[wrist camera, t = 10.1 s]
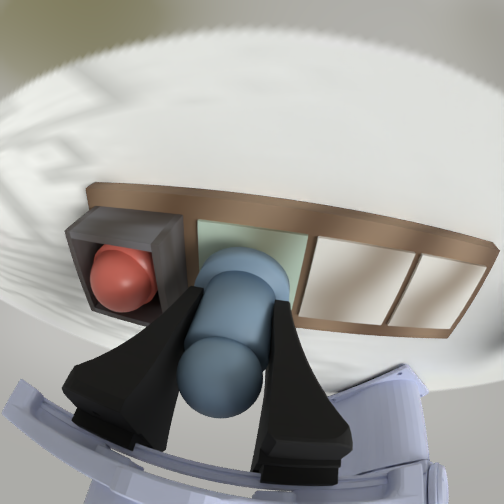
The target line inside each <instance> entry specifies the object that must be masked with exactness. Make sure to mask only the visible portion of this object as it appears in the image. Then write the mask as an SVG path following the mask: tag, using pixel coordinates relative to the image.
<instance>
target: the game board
mask: <svg viewBox="0 0 504 504" xmlns="http://www.w3.org/2000/svg"><path fill="white" fill-rule="evenodd" d="M86 194H87V200H88V205H89V211H88V212H87V213H86V214H84V215H83V216H82V217H81V218H79V219H78V220H77V221H76V222H74V223H73V224H72V225H71V226H69V227H68V228H67V229H66V230H65V234H66V238H67V242H68V245H69V248H70V252H71V255H72V258H73V261H74V264H75V267H76V270H77V273H78V276H79V279H80V282H81V284H82V287H83V290H84V292H85V295H86V298H87V300H88V303H89V305H90V307H91V310H92V311H95V312H98V313H101V314H104V315H107V316H110V317H114V318H117V319H121V320H124V321H127V322H131V323H135V324H138V325H142V326H146V327H147V326H148V325H150V324H151V323H152V322H153V321H154V320H156V319H157V318H158V317H159V316H160V315H161V314H162V313H163V312H165V311H166V310H167V309H168V308H169V307H170V306H171V305H172V304H173V303H174V302H175V301H176V300H177V299H178V298H179V297H180V296H181V295H182V294H183V293H184V292H185V291H186V290H187V289H188V288H189V287H190V286H194V284H195V280H196V278H197V276H198V274H199V272H200V270H201V268H202V266H203V264H204V262H205V261H206V260H207V259H208V258H209V257H210V256H211V255H212V254H214V253H215V252H217V251H219V250H222V249H225V248H230V247H247V248H252V249H256V250H259V251H262V252H264V253H266V254H268V255H269V256H271V257H272V258H274V259H275V260H276V261H277V262H278V263H279V264H280V265H281V266H282V267H283V268H284V270H285V271H286V273H287V276H288V279H289V283H290V293H289V302H290V304H291V312H292V317H293V321H294V325H295V327H296V328H304V329H313V330H321V331H331V332H341V333H351V334H363V335H377V336H392V337H412V338H448V337H449V336H450V334H451V333H452V332H453V330H454V329H455V327H456V326H457V324H458V323H459V322H460V320H461V319H462V317H463V316H464V314H465V313H466V311H467V309H468V308H469V306H470V305H471V303H472V302H473V300H474V298H475V297H476V295H477V293H478V292H479V290H480V288H481V286H482V285H483V283H484V281H485V279H486V277H487V276H488V274H489V272H490V270H491V268H492V266H493V264H494V262H495V260H496V258H497V256H498V254H499V252H500V250H499V249H498V248H497V247H496V246H495V244H494V243H493V242H489V241H486V240H482V239H479V238H475V237H471V236H468V235H464V234H460V233H456V232H452V231H448V230H444V229H440V228H436V227H432V226H428V225H423V224H419V223H414V222H410V221H405V220H401V219H396V218H391V217H386V216H381V215H376V214H371V213H366V212H361V211H355V210H350V209H344V208H339V207H333V206H327V205H321V204H315V203H308V202H302V201H295V200H288V199H281V198H274V197H267V196H259V195H251V194H243V193H234V192H225V191H216V190H206V189H196V188H184V187H172V186H159V185H144V184H126V183H102V182H95V183H93V184H92V185H90V186H88V187H87V188H86ZM104 244H107V245H113V246H119V247H124V248H130V249H136V250H142V251H148V252H152V258H153V264H154V270H155V276H156V282H157V288H158V290H157V292H156V294H155V295H154V297H153V299H152V300H151V301H150V302H148V303H147V304H144V305H142V306H141V307H139V308H138V309H136V310H133V311H130V312H115V311H112V310H110V309H108V308H106V307H105V306H103V305H102V304H101V303H100V302H99V301H98V300H97V298H96V297H95V295H94V293H93V291H92V288H91V283H90V273H91V268H92V266H93V263H94V257H95V254H96V253H97V251H98V250H99V249H100V248H101V247H102V246H103V245H104Z"/></svg>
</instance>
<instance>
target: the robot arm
mask: <svg viewBox="0 0 504 504" xmlns="http://www.w3.org/2000/svg"><path fill="white" fill-rule="evenodd" d="M203 294H204V288H202V287H196V286H190V287H189V288H188V289H187V290H186V291H185V292H184V293H183V294H182V295H181V296H180V297H179V298H178V299H177V300H176V301H175V302H174V303H173V304H172V305H171V306H170V307H169V308H168V309H167V310H166V311H165V312H163V313H162V314H161V315H160V316H159V317H158V318H157V319H156V320H154V321H153V322H152V323H151V324H150V325H148V326H147V327H146V328H145V329H143V330H142V331H141V332H139V333H138V334H137V335H135V336H134V337H132V338H131V339H129V340H128V341H126V342H124V343H123V344H121V345H120V346H118V347H116V348H114V349H113V350H111V351H109V352H107V353H105V354H103V355H101V356H99V357H97V358H94V359H92V360H89V361H87V362H84V363H81V364H79V365H76V366H74V368H73V370H72V371H71V372H70V374H69V376H68V378H67V379H66V381H65V383H64V385H63V387H62V390H63V393H64V394H65V395H66V396H67V398H68V399H69V400H71V402H72V403H73V404H74V405H75V406H76V407H77V409H76V412H75V414H72V413H70V412H68V411H66V410H64V409H63V408H61V407H59V406H57V405H56V404H54V403H53V402H51V401H49V400H48V399H46V398H44V396H43V395H42V394H41V393H40V392H39V391H38V390H37V389H36V388H34V387H33V386H32V385H30V384H29V383H27V382H26V381H24V380H23V379H20V381H19V382H18V384H17V386H16V387H15V389H14V391H13V393H12V394H11V396H10V398H9V400H8V402H7V403H6V405H5V407H4V409H3V411H2V415H3V416H5V417H6V418H7V419H8V420H9V421H10V422H11V423H13V424H14V425H15V426H16V427H17V428H19V429H20V430H21V431H22V432H23V433H25V434H26V435H27V436H28V437H30V438H31V439H32V440H33V441H35V442H36V443H38V444H39V445H40V446H41V447H43V448H44V449H45V450H47V451H48V452H50V453H51V454H52V455H54V456H55V457H57V458H59V459H60V460H61V461H63V462H64V463H66V464H68V465H69V466H71V467H72V468H74V469H76V470H77V471H79V472H81V473H82V474H84V475H86V476H88V477H89V478H91V479H92V482H91V484H90V487H89V490H88V492H87V495H86V498H85V501H84V504H448V503H449V502H448V501H449V492H448V480H447V474H446V470H445V467H444V466H443V465H441V464H439V463H438V462H436V463H432V462H430V459H429V449H428V441H427V434H426V427H425V421H424V415H423V409H422V403H421V397H423V396H425V395H427V394H428V393H429V391H428V389H427V388H426V386H425V385H424V384H423V383H422V381H421V380H420V379H419V378H418V376H417V375H416V374H415V373H414V371H413V370H412V369H411V368H410V366H408V365H403V366H401V367H399V368H397V369H395V370H393V371H391V372H388V373H386V374H384V375H382V376H379V377H377V378H375V379H372V380H370V381H368V382H365V383H363V384H360V385H358V386H355V387H353V388H350V389H348V390H345V391H342V392H339V393H337V394H334V395H331V396H328V397H327V395H326V394H325V392H324V391H323V389H322V387H321V386H320V384H319V382H318V381H317V379H316V377H315V375H314V373H313V371H312V369H311V367H310V365H309V363H308V361H307V359H306V356H305V354H304V351H303V349H302V346H301V343H300V341H299V338H298V335H297V331H296V328H295V325H294V321H293V317H292V312H291V304H290V302H289V301H283V300H276V299H275V302H274V309H273V317H272V330H271V346H270V354H269V362H268V366H267V368H266V371H265V389H264V398H263V405H262V411H261V417H260V423H259V429H258V434H257V439H256V445H255V450H254V455H253V460H252V465H251V470H250V472H247V471H240V470H234V469H228V468H223V467H218V466H213V465H208V464H204V463H200V462H195V461H192V460H187V459H184V458H180V457H177V456H173V455H170V454H166V453H163V451H165V450H166V446H167V440H168V435H169V430H170V426H171V421H172V417H173V412H174V408H175V404H176V401H177V397H178V393H179V389H178V386H177V378H176V372H177V367H178V363H179V361H180V358H181V357H182V355H183V353H184V352H185V350H184V340H185V338H186V335H187V333H188V330H189V328H190V326H191V323H192V321H193V318H194V316H195V313H196V311H197V309H198V306H199V304H200V301H201V299H202V297H203ZM111 448H112V449H114V450H116V451H119V452H121V453H123V454H126V455H128V456H131V457H133V458H136V459H138V460H141V461H144V462H146V463H149V464H152V465H155V466H158V467H161V468H164V469H167V470H171V471H174V472H178V473H181V474H185V475H189V476H192V477H196V478H200V479H205V480H209V481H214V482H219V483H224V484H230V485H236V486H243V487H249V488H257V489H267V490H279V491H256V492H255V494H254V495H253V496H252V498H246V497H240V496H234V495H229V494H224V493H219V492H215V491H210V490H206V489H202V488H198V487H194V486H190V485H186V484H183V483H179V482H176V481H172V480H169V479H166V478H162V477H159V476H156V475H153V474H150V473H147V472H144V469H143V467H141V466H139V465H137V464H135V463H134V462H132V461H131V460H130V459H129V458H127V457H125V456H123V455H121V454H119V453H117V452H115V451H113V450H111ZM286 491H292V492H286Z"/></svg>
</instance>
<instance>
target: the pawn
mask: <svg viewBox="0 0 504 504" xmlns="http://www.w3.org/2000/svg"><path fill="white" fill-rule="evenodd" d="M194 286H196V287H202V288H204V294H203V297H202V299H201V301H200V304H199V306H198V309H197V311H196V313H195V316H194V318H193V321H192V323H191V326H190V328H189V330H188V333H187V335H186V338H185V340H184V350H185V352H184V353H183V355H182V357H181V358H180V361H179V363H178V367H177V372H176V378H177V386H178V389H179V391H180V393H181V395H182V397H183V399H184V400H185V401H186V403H187V404H188V405H189V406H190V407H191V408H193V409H194V410H195V411H197V412H199V413H200V414H203V415H205V416H208V417H213V418H229V417H233V416H236V415H239V414H241V413H242V412H244V411H246V410H247V409H248V408H250V407H251V405H252V404H254V402H255V401H256V400H257V398H258V396H259V394H260V392H261V388H262V384H263V371H264V370H265V369H266V368H267V366H268V362H269V354H270V346H271V330H272V317H273V309H274V302H275V299H276V300H283V301H289V293H290V283H289V279H288V276H287V273H286V271H285V270H284V268H283V267H282V266H281V265H280V264H279V263H278V262H277V261H276V260H275V259H274V258H272V257H271V256H269V255H268V254H266V253H264V252H262V251H259V250H256V249H252V248H247V247H230V248H225V249H222V250H219V251H217V252H215V253H214V254H212V255H211V256H210V257H209V258H208V259H207V260H206V261H205V262H204V264H203V266H202V268H201V270H200V272H199V274H198V276H197V278H196V280H195V284H194Z"/></svg>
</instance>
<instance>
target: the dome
mask: <svg viewBox="0 0 504 504" xmlns="http://www.w3.org/2000/svg"><path fill="white" fill-rule="evenodd" d="M90 283H91V288H92V291H93V293H94V295H95V297H96V298H97V300H98V301H99V302H100V303H101V304H102V305H103V306H105V307H106V308H108V309H110V310H112V311H115V312H130V311H133V310H136V309H138V308H139V307H141V306H142V305H144V304H147V303H148V302H150V301H151V300H152V299H153V297H154V295H155V294H156V292H157V290H158V288H157V282H156V276H155V270H154V264H153V258H152V252H148V251H142V250H136V249H130V248H124V247H119V246H113V245H107V244H104V245H103V246H102V247H101V248H100V249H99V250H98V251H97V253H96V254H95V257H94V263H93V266H92V268H91V273H90Z"/></svg>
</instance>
